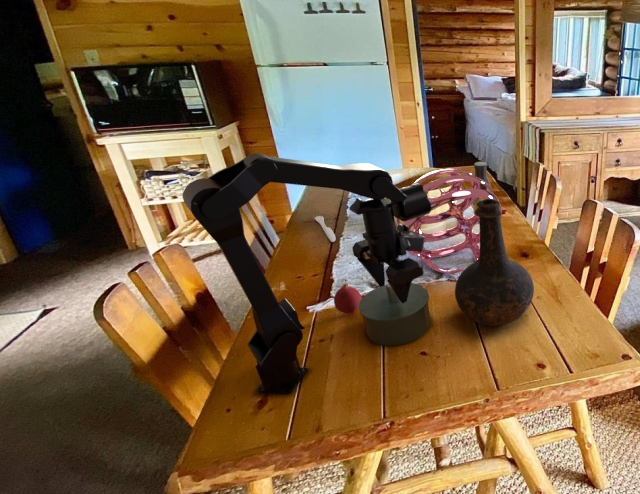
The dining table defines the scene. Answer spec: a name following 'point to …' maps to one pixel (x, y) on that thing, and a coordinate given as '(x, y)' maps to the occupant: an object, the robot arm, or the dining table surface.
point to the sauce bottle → (481, 173)
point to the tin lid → (392, 303)
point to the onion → (347, 299)
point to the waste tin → (398, 329)
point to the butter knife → (326, 228)
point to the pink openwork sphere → (451, 214)
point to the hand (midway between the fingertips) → (392, 293)
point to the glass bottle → (493, 276)
